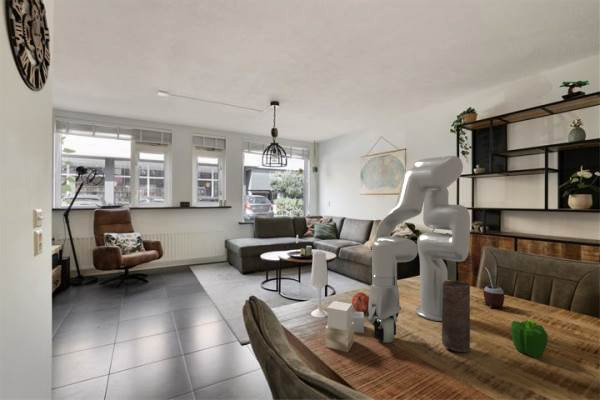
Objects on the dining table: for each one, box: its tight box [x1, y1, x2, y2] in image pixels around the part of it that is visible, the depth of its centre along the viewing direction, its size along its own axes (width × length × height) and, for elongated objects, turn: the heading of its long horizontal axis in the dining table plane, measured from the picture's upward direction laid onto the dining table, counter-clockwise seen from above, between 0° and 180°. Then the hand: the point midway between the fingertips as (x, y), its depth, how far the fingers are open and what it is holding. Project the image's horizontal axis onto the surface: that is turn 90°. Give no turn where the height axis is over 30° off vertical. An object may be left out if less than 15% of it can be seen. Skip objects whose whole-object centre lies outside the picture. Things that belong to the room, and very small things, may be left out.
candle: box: [441, 279, 471, 353], centre depth 83 cm, size 8×7×20 cm
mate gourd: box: [483, 267, 506, 310], centre depth 115 cm, size 8×8×15 cm
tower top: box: [326, 300, 353, 331], centre depth 86 cm, size 6×6×6 cm
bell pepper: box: [510, 319, 549, 358], centre depth 81 cm, size 8×8×10 cm
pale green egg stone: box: [377, 317, 395, 344], centre depth 88 cm, size 5×5×6 cm
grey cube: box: [352, 310, 365, 334], centre depth 96 cm, size 5×5×5 cm
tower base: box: [324, 322, 355, 353], centre depth 86 cm, size 7×7×6 cm
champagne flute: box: [310, 250, 329, 318], centre depth 108 cm, size 7×7×24 cm
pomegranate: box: [351, 292, 369, 313], centre depth 111 cm, size 7×7×10 cm
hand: (385, 336), depth 88 cm, fingers closed on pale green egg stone, 5 cm apart
